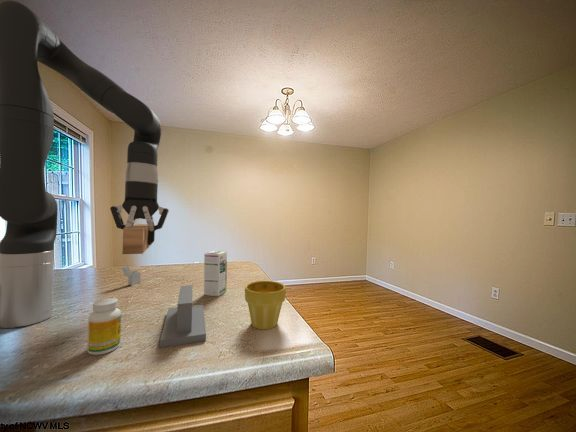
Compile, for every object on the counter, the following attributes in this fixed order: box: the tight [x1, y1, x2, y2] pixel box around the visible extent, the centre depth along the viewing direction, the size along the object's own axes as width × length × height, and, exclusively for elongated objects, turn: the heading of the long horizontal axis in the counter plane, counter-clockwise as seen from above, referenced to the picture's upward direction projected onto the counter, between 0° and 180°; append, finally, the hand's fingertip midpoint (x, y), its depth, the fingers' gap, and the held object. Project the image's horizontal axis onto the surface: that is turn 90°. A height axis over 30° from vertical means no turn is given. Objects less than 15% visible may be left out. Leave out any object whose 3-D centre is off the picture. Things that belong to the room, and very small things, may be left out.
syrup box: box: [203, 250, 228, 297], centre depth 85 cm, size 6×6×14 cm
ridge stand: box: [159, 284, 207, 349], centre depth 60 cm, size 9×18×8 cm, turn 21°
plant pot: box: [244, 280, 287, 330], centre depth 62 cm, size 10×10×10 cm
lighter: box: [120, 264, 142, 287], centre depth 91 cm, size 7×2×8 cm, turn 167°
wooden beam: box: [121, 223, 152, 255], centre depth 66 cm, size 20×4×6 cm, turn 23°
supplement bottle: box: [87, 297, 122, 356], centre depth 49 cm, size 5×5×10 cm
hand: (139, 244), depth 66 cm, fingers closed on wooden beam, 4 cm apart
